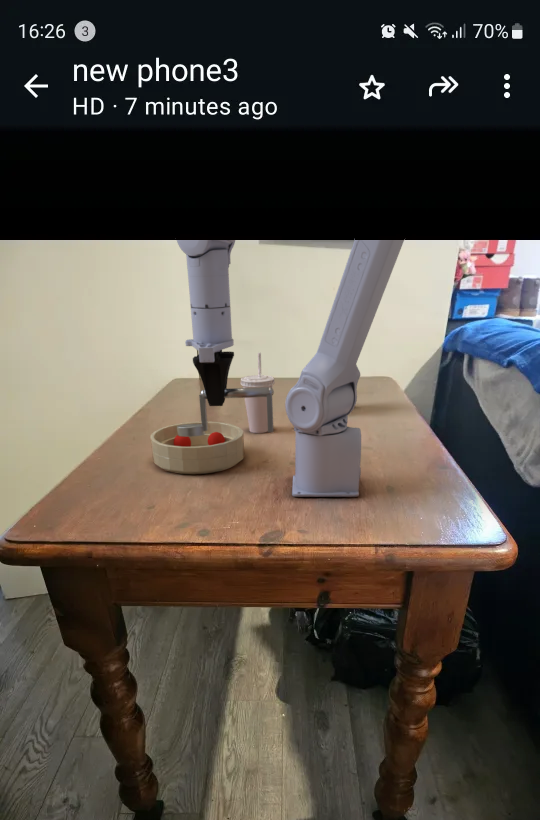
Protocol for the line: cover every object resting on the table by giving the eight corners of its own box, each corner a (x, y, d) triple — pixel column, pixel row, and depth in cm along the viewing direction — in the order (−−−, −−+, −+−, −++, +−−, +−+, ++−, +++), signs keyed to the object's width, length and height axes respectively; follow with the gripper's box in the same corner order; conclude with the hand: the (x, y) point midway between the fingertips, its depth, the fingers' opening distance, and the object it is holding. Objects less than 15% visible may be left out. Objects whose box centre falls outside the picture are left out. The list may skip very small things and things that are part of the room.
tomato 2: (219, 455, 100) (227, 446, 102) (220, 440, 98) (228, 431, 100) (204, 450, 101) (212, 441, 103) (204, 435, 99) (212, 426, 101)
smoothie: (281, 431, 112) (281, 353, 105) (254, 437, 109) (251, 357, 102) (263, 424, 117) (261, 349, 110) (236, 429, 114) (232, 353, 107)
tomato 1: (197, 443, 101) (186, 430, 101) (190, 442, 98) (179, 429, 98) (185, 455, 102) (174, 442, 102) (178, 455, 99) (167, 441, 99)
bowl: (247, 446, 104) (246, 421, 102) (239, 475, 92) (238, 447, 89) (164, 446, 105) (161, 421, 103) (144, 475, 92) (140, 447, 90)
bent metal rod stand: (175, 437, 90) (170, 391, 88) (180, 433, 94) (176, 389, 92) (274, 434, 89) (272, 387, 87) (275, 430, 93) (274, 386, 91)
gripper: (191, 302, 90) (198, 393, 97) (173, 312, 77) (183, 416, 84) (236, 301, 89) (240, 393, 96) (225, 311, 77) (231, 415, 84)
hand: (217, 404), depth 90 cm, fingers closed on bent metal rod stand
